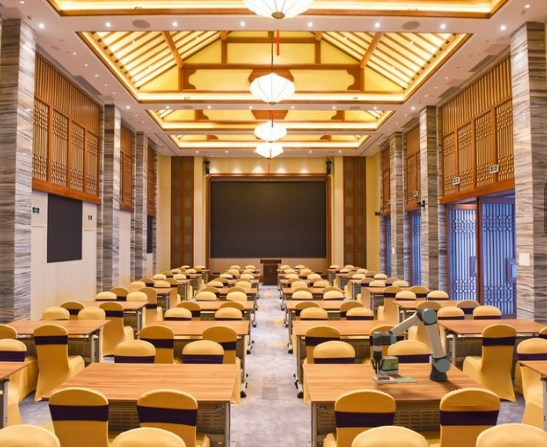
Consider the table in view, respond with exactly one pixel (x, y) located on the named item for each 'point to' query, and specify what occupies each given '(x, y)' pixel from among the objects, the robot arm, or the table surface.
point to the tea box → (389, 365)
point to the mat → (405, 379)
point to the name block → (383, 377)
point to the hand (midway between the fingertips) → (377, 377)
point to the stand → (385, 380)
